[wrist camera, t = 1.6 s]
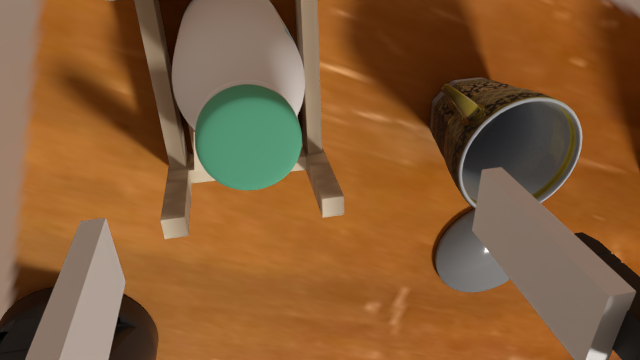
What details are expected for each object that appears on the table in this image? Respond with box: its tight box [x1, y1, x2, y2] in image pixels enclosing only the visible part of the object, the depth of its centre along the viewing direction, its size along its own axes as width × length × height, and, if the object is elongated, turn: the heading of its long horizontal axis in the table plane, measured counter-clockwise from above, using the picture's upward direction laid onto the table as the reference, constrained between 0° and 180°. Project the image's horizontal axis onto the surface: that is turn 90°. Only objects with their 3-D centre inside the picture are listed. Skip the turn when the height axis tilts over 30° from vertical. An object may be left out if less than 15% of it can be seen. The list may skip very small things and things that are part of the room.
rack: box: [107, 0, 344, 239], centre depth 34 cm, size 13×17×10 cm
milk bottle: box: [172, 0, 305, 190], centre depth 29 cm, size 8×8×20 cm
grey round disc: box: [435, 209, 510, 292], centre depth 54 cm, size 12×12×1 cm
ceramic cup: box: [430, 77, 582, 209], centre depth 40 cm, size 13×10×10 cm
